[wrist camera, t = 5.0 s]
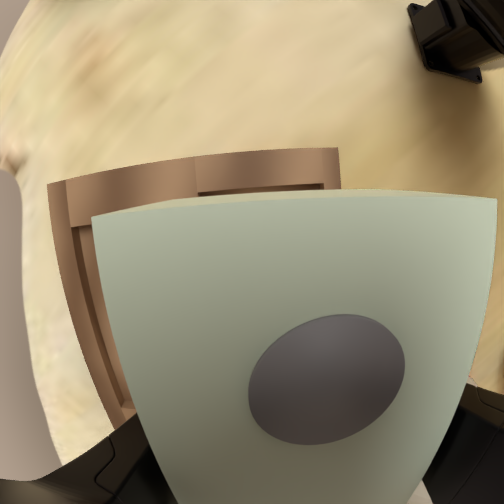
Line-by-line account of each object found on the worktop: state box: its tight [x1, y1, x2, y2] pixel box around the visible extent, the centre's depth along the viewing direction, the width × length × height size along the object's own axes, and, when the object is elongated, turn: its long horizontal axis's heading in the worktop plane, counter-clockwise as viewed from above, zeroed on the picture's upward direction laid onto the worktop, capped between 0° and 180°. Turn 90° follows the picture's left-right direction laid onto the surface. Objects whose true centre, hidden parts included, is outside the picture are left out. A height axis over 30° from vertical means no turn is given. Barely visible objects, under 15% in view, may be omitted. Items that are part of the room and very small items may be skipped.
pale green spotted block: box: [91, 189, 497, 504], centre depth 7 cm, size 6×11×5 cm, turn 3°
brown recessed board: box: [47, 148, 341, 430], centre depth 19 cm, size 18×20×2 cm
